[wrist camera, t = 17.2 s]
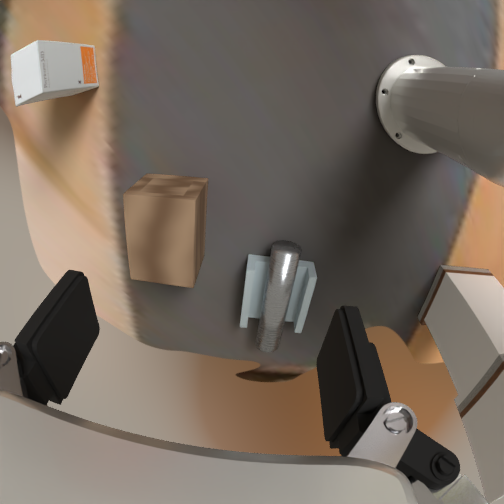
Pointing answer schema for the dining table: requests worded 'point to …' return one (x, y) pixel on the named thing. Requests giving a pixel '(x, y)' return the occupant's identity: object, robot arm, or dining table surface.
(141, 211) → the hollow wooden box
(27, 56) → the skincare box
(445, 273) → the spiral staircase model
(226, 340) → the dining table surface
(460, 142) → the robot arm
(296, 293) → the cradle
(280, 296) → the axle
